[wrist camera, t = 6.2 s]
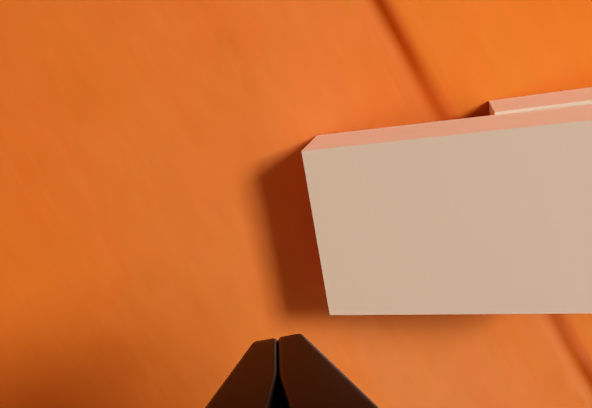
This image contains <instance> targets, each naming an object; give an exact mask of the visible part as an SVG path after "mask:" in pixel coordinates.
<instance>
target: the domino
mask: <svg viewBox="0 0 592 408" xmlns="http://www.w3.org/2000/svg"><path fill="white" fill-rule="evenodd" d="M301 152H302V158H303V164H304V169H305V175H306V181H307V187H308V192H309V198H310V204H311V210H312V216H313V221H314V227H315V233H316V239H317V244H318V250H319V256H320V262H321V268H322V273H323V279H324V285H325V291H326V296H327V302H328V308H329V314H330V315H434V314H573V313H592V104H584V105H575V106H567V107H558V108H549V109H541V110H532V111H523V112H515V113H506V114H497V115H489V116H480V117H471V118H463V119H454V120H446V121H437V122H428V123H420V124H411V125H402V126H394V127H385V128H376V129H368V130H359V131H350V132H342V133H333V134H324V135H317V136H316V137H315V138H314V139H313V140H312V141H311V142H310V143H309V144H308V145H307V146H306V147H305V148H304V149H303V150H302V151H301Z"/></svg>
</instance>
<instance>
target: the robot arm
mask: <svg viewBox="0 0 592 408" xmlns="http://www.w3.org/2000/svg"><path fill="white" fill-rule="evenodd" d="M205 408H378V407H377V406H376V405H375V404H374V403H373V402H372V401H371V400H370V399H369V398H368V397H367V396H366V395H365V394H364V393H363V392H362V391H361V390H360V389H359V388H358V387H357V386H355V385H354V384H353V383H352V382H351V381H350V380H349V379H348V378H347V377H346V376H345V375H344V374H343V373H342V372H341V371H340V370H339V369H338V368H337V367H336V366H335V365H334V364H332V363H331V362H330V361H329V360H328V359H327V358H326V357H325V356H324V355H323V354H322V353H321V352H320V351H319V350H318V349H317V348H316V347H315V346H314V345H313V344H312V343H311V342H309V341H308V340H307V339H306V338H305V337H304V336H303V335H302V334H295V335H289V336H284V337H280V338H279V340H278V341H277V340H276V339H267V340H261V341H256V342H254V343H253V344H252V345H251V346H250V348H249V349H248V350H247V352H246V353H245V354H244V356H243V357H242V359H241V360H240V361H239V363H238V364H237V365H236V367H235V368H234V369H233V371H232V372H231V373H230V375H229V376H228V378H227V379H226V380H225V382H224V383H223V384H222V386H221V387H220V388H219V390H218V391H217V393H216V394H215V395H214V397H213V398H212V399H211V401H210V402H209V403H208V405H207V406H206V407H205Z"/></svg>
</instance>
